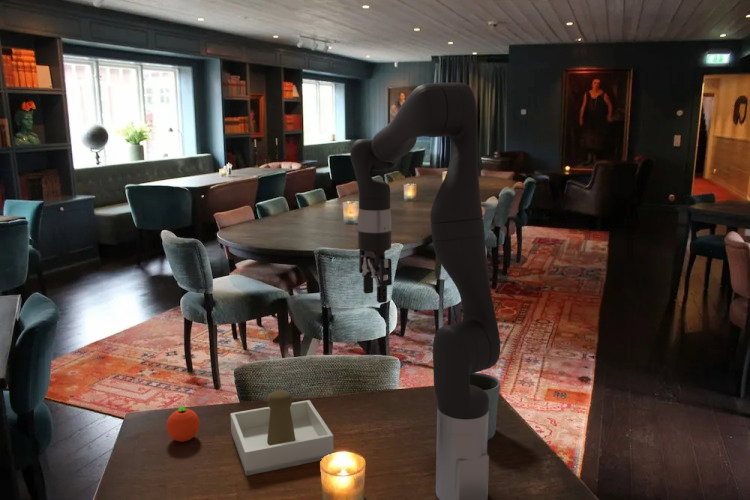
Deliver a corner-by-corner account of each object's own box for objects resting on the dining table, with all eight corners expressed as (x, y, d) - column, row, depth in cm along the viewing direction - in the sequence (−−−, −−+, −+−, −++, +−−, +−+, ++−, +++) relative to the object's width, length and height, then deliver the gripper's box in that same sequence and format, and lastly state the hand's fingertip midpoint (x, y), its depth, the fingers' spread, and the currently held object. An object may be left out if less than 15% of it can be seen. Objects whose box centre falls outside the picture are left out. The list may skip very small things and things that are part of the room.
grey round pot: (465, 445, 134) (466, 393, 132) (445, 424, 144) (446, 375, 141) (507, 438, 137) (509, 386, 135) (484, 417, 147) (486, 369, 144)
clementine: (165, 433, 140) (163, 403, 139) (197, 427, 143) (195, 398, 141) (169, 450, 133) (167, 419, 131) (202, 443, 136) (200, 413, 134)
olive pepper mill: (290, 449, 131) (288, 400, 129) (262, 446, 132) (260, 397, 130) (299, 435, 137) (297, 388, 135) (273, 432, 138) (271, 385, 136)
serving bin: (333, 457, 130) (333, 435, 129) (246, 475, 123) (245, 452, 122) (309, 419, 146) (309, 400, 145) (231, 434, 140) (230, 413, 139)
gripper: (402, 232, 137) (402, 303, 140) (378, 222, 150) (378, 288, 153) (370, 234, 134) (370, 307, 137) (348, 224, 147) (349, 291, 150)
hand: (374, 297), depth 145 cm, fingers open, 8 cm apart
